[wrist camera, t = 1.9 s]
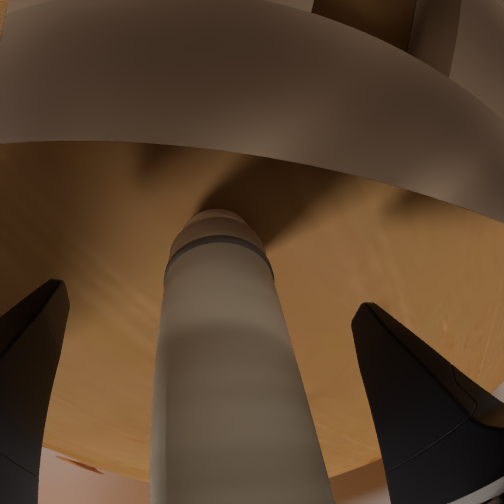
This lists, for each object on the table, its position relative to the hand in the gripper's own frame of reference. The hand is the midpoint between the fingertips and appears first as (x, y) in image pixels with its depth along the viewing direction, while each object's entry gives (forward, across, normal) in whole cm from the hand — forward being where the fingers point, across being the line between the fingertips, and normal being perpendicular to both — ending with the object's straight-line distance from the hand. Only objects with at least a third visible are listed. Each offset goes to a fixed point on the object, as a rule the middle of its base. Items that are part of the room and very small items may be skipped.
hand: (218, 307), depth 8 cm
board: (+3, -3, -10) cm, 11 cm away
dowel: (+3, 0, 0) cm, 3 cm away
